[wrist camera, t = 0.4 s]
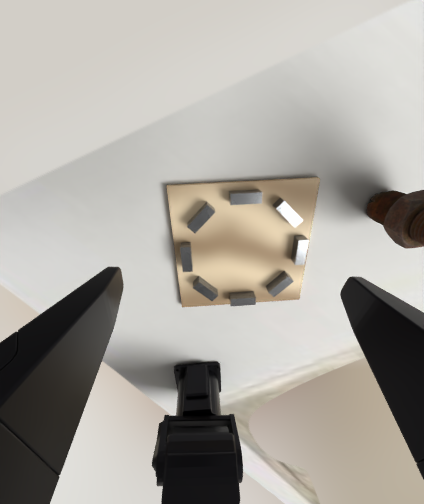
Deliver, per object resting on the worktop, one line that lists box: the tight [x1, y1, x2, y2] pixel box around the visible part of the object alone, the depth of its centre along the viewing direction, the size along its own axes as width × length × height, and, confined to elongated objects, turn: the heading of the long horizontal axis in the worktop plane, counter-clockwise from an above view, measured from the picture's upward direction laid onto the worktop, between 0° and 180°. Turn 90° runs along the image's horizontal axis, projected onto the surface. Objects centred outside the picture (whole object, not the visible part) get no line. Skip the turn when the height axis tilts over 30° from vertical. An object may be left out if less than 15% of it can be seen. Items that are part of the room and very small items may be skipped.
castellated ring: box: [180, 189, 309, 306], centre depth 24 cm, size 13×13×1 cm
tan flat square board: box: [167, 177, 320, 307], centre depth 24 cm, size 14×14×1 cm
